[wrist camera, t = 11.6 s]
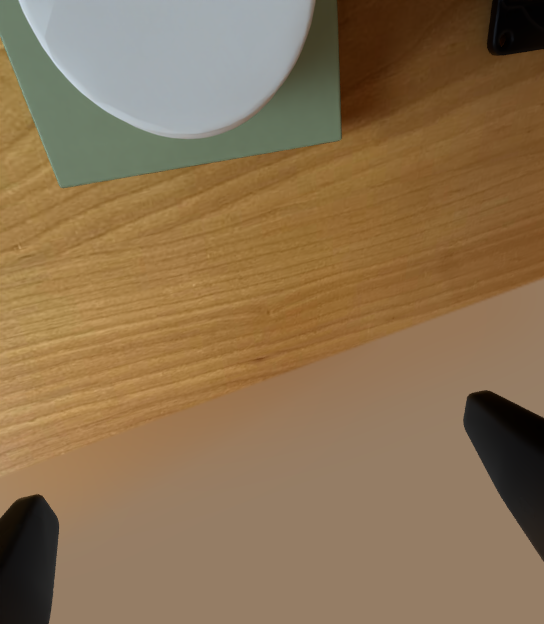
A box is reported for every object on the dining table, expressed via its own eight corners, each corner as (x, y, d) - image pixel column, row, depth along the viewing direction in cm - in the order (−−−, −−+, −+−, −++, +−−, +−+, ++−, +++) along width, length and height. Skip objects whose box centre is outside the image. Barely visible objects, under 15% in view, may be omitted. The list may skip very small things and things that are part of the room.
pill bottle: (251, 120, 14) (317, 178, 7) (102, 103, 13) (7, 151, 6) (266, -63, 12) (389, -247, 5) (87, -100, 11) (-95, -405, 4)
